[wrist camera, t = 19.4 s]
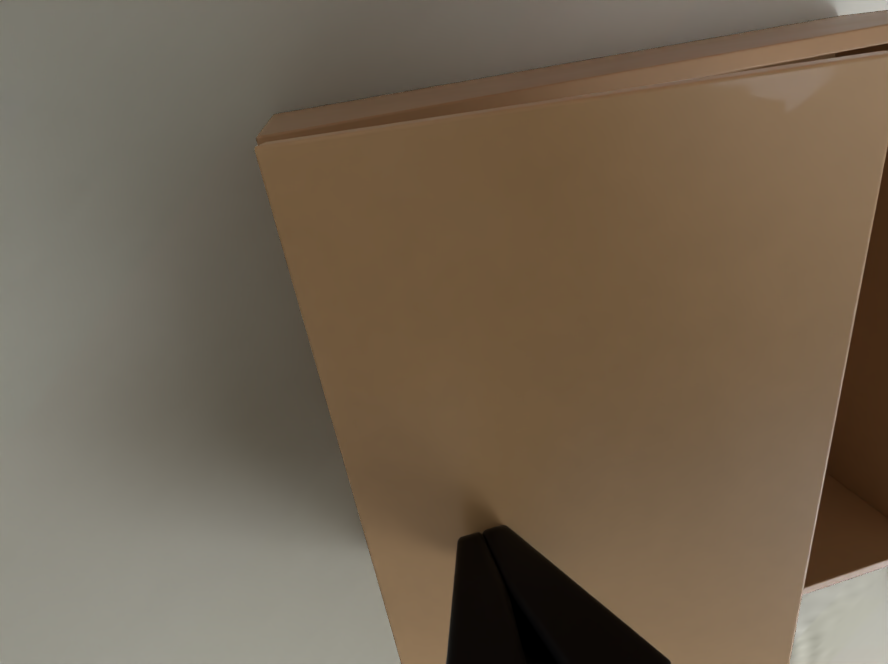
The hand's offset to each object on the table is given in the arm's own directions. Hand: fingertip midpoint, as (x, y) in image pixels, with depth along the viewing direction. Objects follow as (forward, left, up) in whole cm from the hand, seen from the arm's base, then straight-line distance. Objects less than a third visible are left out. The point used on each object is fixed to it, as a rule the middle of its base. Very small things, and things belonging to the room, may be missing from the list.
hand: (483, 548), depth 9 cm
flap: (+1, -1, 0) cm, 2 cm away
